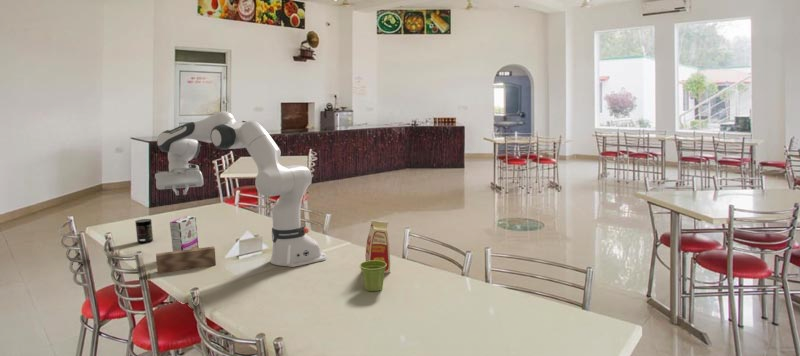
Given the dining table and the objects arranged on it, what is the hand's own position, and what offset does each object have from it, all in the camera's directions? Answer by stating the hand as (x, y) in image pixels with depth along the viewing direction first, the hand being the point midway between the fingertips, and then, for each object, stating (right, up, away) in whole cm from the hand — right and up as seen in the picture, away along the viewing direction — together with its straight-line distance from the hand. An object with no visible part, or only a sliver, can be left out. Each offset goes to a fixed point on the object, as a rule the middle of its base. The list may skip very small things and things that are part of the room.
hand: (181, 194), depth 220 cm
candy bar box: (+9, -26, -16) cm, 32 cm away
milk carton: (+93, -28, -35) cm, 103 cm away
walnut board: (+17, -28, -31) cm, 45 cm away
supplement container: (-20, -23, +7) cm, 31 cm away
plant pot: (+92, -31, -54) cm, 111 cm away
